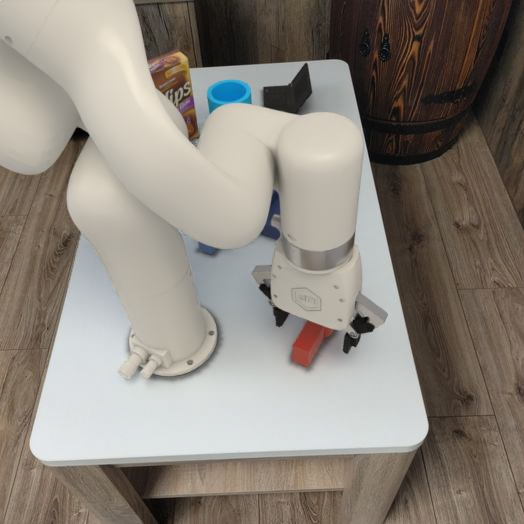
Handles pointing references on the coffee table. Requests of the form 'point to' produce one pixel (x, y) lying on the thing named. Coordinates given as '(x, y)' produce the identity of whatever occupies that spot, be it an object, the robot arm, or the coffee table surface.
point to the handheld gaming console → (289, 93)
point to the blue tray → (274, 209)
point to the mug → (228, 93)
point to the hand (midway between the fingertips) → (315, 331)
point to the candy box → (176, 86)
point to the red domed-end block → (309, 342)
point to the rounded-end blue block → (206, 248)
